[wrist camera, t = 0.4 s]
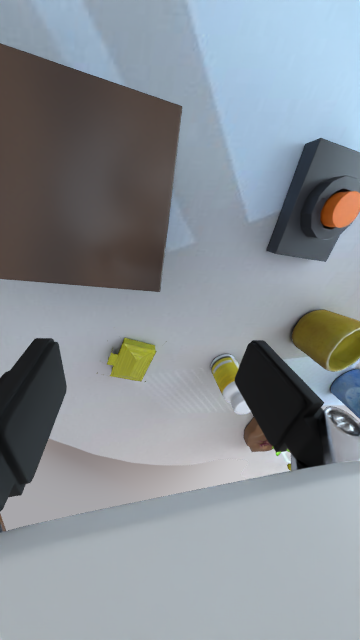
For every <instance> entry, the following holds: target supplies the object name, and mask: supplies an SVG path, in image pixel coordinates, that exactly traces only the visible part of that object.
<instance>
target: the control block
mask: <svg viewBox="0 0 360 640" xmlns="http://www.w3.org/2000/svg"><path fill="white" fill-rule="evenodd" d="M349 191H357V192H359V193H360V152H357V151H355V150H352V149H349V148H346V147H344V146H341V145H338V144H336V143H333V142H330V141H328V140H325V139H322V138H320V139H317V140H315V141H312V142H309V143H307V144H305V147H304V150H303V152H302V155H301V158H300V161H299V163H298V166H297V169H296V171H295V174H294V177H293V180H292V182H291V185H290V188H289V191H288V193H287V196H286V199H285V201H284V204H283V207H282V210H281V212H280V215H279V218H278V220H277V223H276V226H275V229H274V231H273V234H272V237H271V240H270V242H269V245H268V248H267V251H269V252H272V253H275V254H281V255H287V256H293V257H299V258H306V259H312V260H318V261H324V262H326V261H327V259H328V257H329V255H330V253H331V251H332V249H333V247H334V246H335V244H336V242H337V240H338V238H339V236H340V234H341V233H342V232H343V231H344V230H345V229H346V228H347V227H348V226H349V225H350V224H351V223H352V222H353V221H352V222H351V223H350V224H349V225H347V226H345V227H342V228H337V227H327V226H324V225H323V224H322V223H321V220H320V217H321V211H322V208H323V206H324V204H325V202H326V201H327V200H328V199H329V198H330V197H331V196H332V195H333V194H335V193H338V192H349Z"/></svg>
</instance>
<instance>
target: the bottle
mask: <svg viewBox="0 0 360 640" xmlns="http://www.w3.org/2000/svg"><path fill="white" fill-rule="evenodd" d="M331 392H332V393H333V394H334V395H335V396H336V397H337V398H338V399H339V400H340V401H341V402H342V403H344V404H345V405H346V406H347V407H348V408H349V409H350V410H351V411H352V412H353V413H354V414H355V415H356V416H357V417H358V418H360V369H354V370H350V371H348V372H346V373H344V374H342V375H341V376H340V377H338V378H337V379H336V380H335V381H334V382H333V384H332V386H331Z"/></svg>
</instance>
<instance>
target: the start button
mask: <svg viewBox="0 0 360 640" xmlns="http://www.w3.org/2000/svg"><path fill="white" fill-rule="evenodd" d="M359 212H360V193H359V192H357V191H349V192H338V193H335V194H333V195H332V196H331V197H330V198H329V199H328V200H327V201H326V202H325V204H324V206H323V208H322V211H321V217H320V220H321V223H322V224H323V225H324V226H327V227H337V228H342V227H345V226H347V225H349V224H350V223H351V222H352V221H353V220H354V219H355V218H356V217H357V215H358V214H359Z"/></svg>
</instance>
